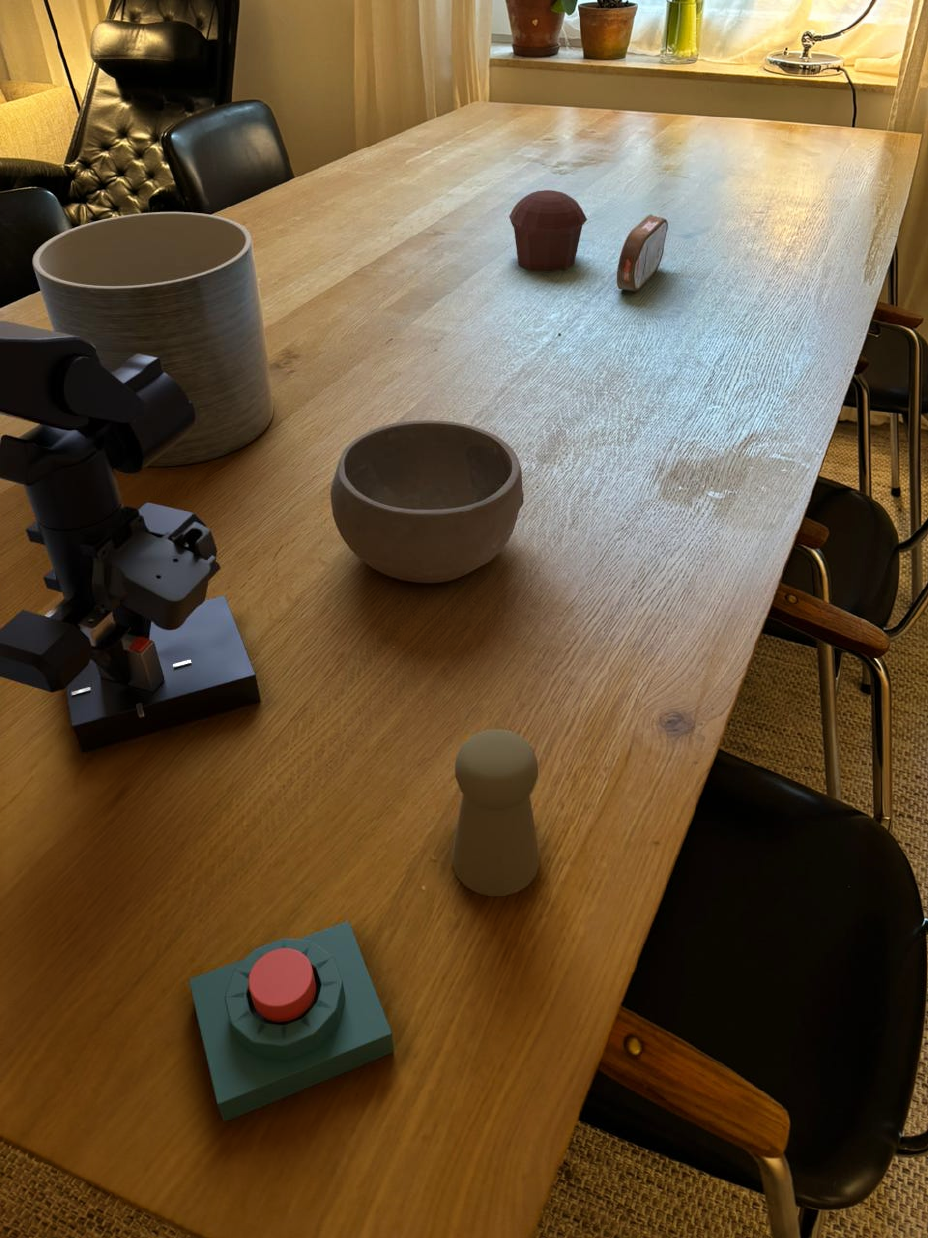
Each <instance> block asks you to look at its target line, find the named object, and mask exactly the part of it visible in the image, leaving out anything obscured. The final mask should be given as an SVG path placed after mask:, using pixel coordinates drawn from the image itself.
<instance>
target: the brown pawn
mask: <svg viewBox="0 0 928 1238" xmlns="http://www.w3.org/2000/svg"><path fill="white" fill-rule="evenodd" d="M538 764H539V763H538V759H537V755H536V753H535V751H534V749H533V747H532V745H531V744H530V743H529V742H528V741H526V740H525V739H524V738H523V737H522V736H521V735H519V734H517V733H516V732H513V731H512V730H511V731H510V730H506V729H502V728H501V729H499V728H498V729H495V728H492V729H487V730H482V731H479V732H478V733H476V734H474V735H471V737H469V738H468V739H467V740H466V741H465V742H464V743H463V744H462V745H461V747H460V749H459V751H458V753H457V756H456V758H455V763H454V765H455V766H454V773H455V775H454V776H455V777H454V778H455V779H456V782H457V785H458V787H459V790H460V792H461V793H462V794H461V795H462V796H461V800H460V801H461V802H460V807H459V813H458V817H457V824H456V829H455V836H454V841H453V848H452V851H451V852H452V853H451V866H452V869H453V871H454V874H455V877H456V878H457V879H458V880H459V881H460V882H461V883H462V885H463V886H465V887H466V888H468V889H469V890H471V891H473V892H474V893H477V894H479V895H482V896H486V897H506V896H510V895H513V894H517V893H519V892H521V891H522V890H524V889H525V888H526V887H528V886H529V885H530V884H531V883H532V881H533V880H534V879H535V878H536V877H537V874H538V871H539V869H540V864H541V863H540V851H539V843H538V838H537V832H536V826H535V825H536V824H535V819H534V812H533V805H532V799H531V794H532V792H533V790H534V788H535V785H536V782H537V781H538V777H539V765H538Z"/></svg>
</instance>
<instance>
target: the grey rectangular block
mask: <svg viewBox="0 0 928 1238" xmlns="http://www.w3.org/2000/svg"><path fill="white" fill-rule="evenodd" d="M121 641H122V644H123V648H124V652H125V655H126V659H127V663H128V667H129V672H130V682H129V683H128V684H127V685H130V686H134V687H137V688H141V689H144V690H148V691H151V692H154V691H155V690H156V688H157V687H158V686H159V685H160V684H161V683H162V682H163V681H164V679H165V678H164V674H163V671H162V667H161V664H160V660H159V657H158V653H157V650H156V646H155V643H154V641H152V640H150V639H148V638H144V637H140V636H139V637H137V636H134V635H130V634H126V635H125V636H124V637H123V638H122V639H121ZM96 666H97V669H98V672H99V675H100V677H103V678H106V679H110V680H113V681H116V680H115V679H113V678H112V677H111V676H110V675H109V674H108V673H106V672H105V671H104V670H103V669H102V668H101V667H99V666H98V665H97V664H96ZM116 682H117V681H116Z"/></svg>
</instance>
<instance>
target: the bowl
mask: <svg viewBox="0 0 928 1238" xmlns="http://www.w3.org/2000/svg"><path fill="white" fill-rule="evenodd" d="M524 496H525V495H524V490H523V473H522V467H521V463H520V460H519V457H518V455H517V454H516V452H515V450H514V449H513V448H512V446H510V445H509V444H508V443H507V441H505V440H504V439H502V438H500V437H499V436H497V435H496V434H494V433H492V432H490V431H488V430H485V429H483V428H479V427H477V426H474V425H470V424H466V423H461V422H456V421H448V420H433V419H421V420H418V419H417V420H407V421H401V422H393V423H388V424H384V425H381V426H377V427H376V428H373V429H370V430H369V431H367V432H365V433H363V434H361V435H360V436H358V437H356V438H355V439H354V440H352V441H351V442H350V443H349V444H348V445H347V446H346V447H345V449H344V450H343V451H342V453H341V455H340V457H339V461H338V463H337V467H336V470H335V473H334V476H333V479H332V483H331V488H330V504H331V511H332V517H333V520H334V523H335V526H336V528H337V530H338V532H339V534H340V536H341V538H342V539H343V541H344V543H345V544H346V545H347V547H348V548H349V549H350V550H351V551H352V553H353V554H354V555H355V556H356V557H357V558H358V559H360V561H362V562H363V563H365V564H366V565H368V566H369V567H371V568H372V569H374V570H375V571H377V572H379V573H381V574H384V575H385V576H388V577H390V578H393V579H396V580H401V581H406V582H412V583H420V584H421V583H422V584H441V583H446V582H449V581H453V580H457V579H458V578H461V577H463V576H466V575H467V574H468V575H469V574H470V573H471V572H474V571H475V570H477V569H478V568H480V567H482V566H484V565H486V564H488V563H489V562H491V561H492V560H493V559H494V558H495V557H496V556H497V554H499V553H500V551H501V550H503V548H504V547H506V545H507V543H508V542H509V540H510V538H511V536H512V535H513V533H514V530H515V529H516V524H517V520H518V516H519V514H520V509H521V508H522V507H523V505H524Z"/></svg>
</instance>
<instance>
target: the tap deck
mask: <svg viewBox="0 0 928 1238" xmlns="http://www.w3.org/2000/svg"><path fill="white" fill-rule="evenodd" d="M149 639H150V640H152V641H154V643H155V646H156V650H157V653H158V657H159V660H160V664H161V667H162V671H163V674H164V678H165V679H164V681H163V682H162V683H161V684H160V685H159V686H158V687H157V688H156V690H155V691H154V692H151V691H148V690H144V689H141V688H137V687H134V686H130V685H127V684H123V683H120V682H116V681H113V680H110V679H106V678H103V677H100V675H99V672H98V669H97V666H96V663H95V662H94V661H92V660H91V659H90V662H89V665H88V666H87V667H86V668H85V669H84V670H83V671H82V672H81V673H80V674H79V675H78V676H77V677H76V678H75V679H74V680H73V681H72V682H71V683H70V684H69V685H68V686H67V687H66V688H65V689H64V690H65V694H66V701H67V706H68V707H67V708H68V712H69V719H70V724H71V729H72V731H73V733H74V737H75V740H76V741H77V744H78V747H79V749H80V752H81V754H85V753H89V752H93V751H96V750H100V749H103V748H106V747H109V746H113V745H116V744H119V743H124V742H126V741H127V742H128V741H130V740H135V739H137V738H141V737H144V736H147V735H151V734H154V733H157V732H161V731H164V730H169V729H172V728H175V727H178V726H182V725H185V724H189V723H192V722H195V721H198V720H202V719H206V718H209V717H213V716H216V715H220V714H223V713H226V712H230V711H233V710H236V709H240V708H244V707H247V706H250V705H253V704H258V703H260V702H262V700H261V699H262V698H261V693H260V690H259V684H258V678H257V674H256V671H255V669H254V666H253V664H252V662H251V659H250V657H249V653H248V651H247V648H246V646H245V644H244V641H243V638H242V635H241V632H240V630H239V628H238V625H237V623H236V620H235V618H234V614H233V612H232V609H231V607H230V604H229V601H228V599H227V597H226V595H220V596H217V597H216V596H215V597H213V598H209V599H205V601H204V602H203V603H202V604H201V605H200V606H198V607H197V608H196V609H195V610H194V611H193V612H192V613H191V615H190V616H189V617H188V618H187V619H186V620H185V622H184V623H183V625H182V626H180V627H179V628H178V629H175V630H164V629H162V628H160V627H158V626H156V625H155V624H154V623H153V622H151V629H150V637H149Z"/></svg>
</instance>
